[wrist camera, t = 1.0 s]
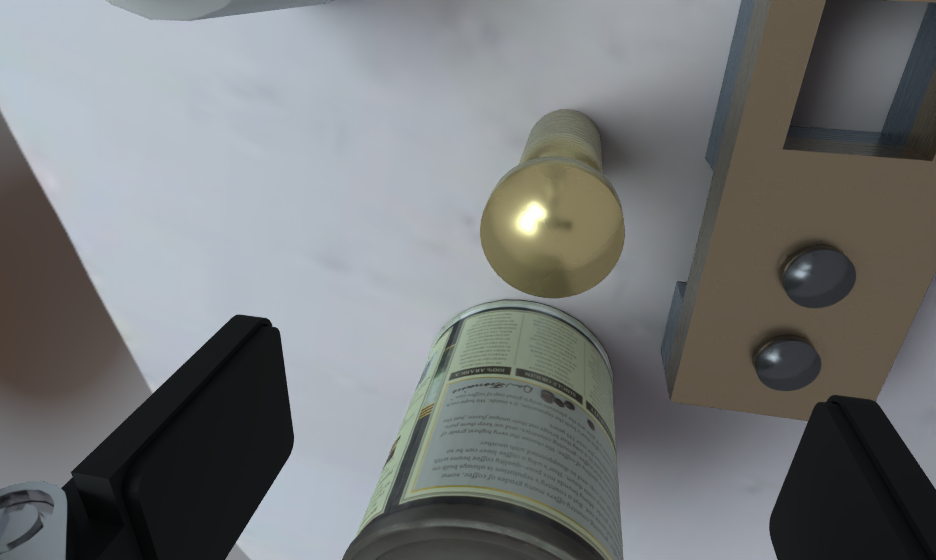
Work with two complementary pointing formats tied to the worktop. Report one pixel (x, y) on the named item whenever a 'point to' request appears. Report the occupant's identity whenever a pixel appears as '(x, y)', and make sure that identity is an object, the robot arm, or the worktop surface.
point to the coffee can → (502, 447)
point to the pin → (555, 212)
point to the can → (205, 7)
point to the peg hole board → (804, 232)
